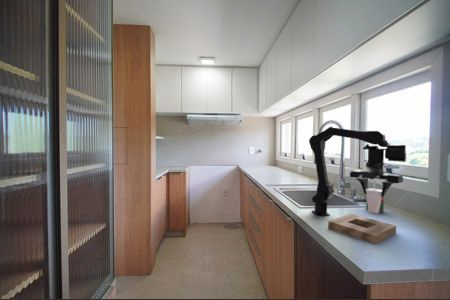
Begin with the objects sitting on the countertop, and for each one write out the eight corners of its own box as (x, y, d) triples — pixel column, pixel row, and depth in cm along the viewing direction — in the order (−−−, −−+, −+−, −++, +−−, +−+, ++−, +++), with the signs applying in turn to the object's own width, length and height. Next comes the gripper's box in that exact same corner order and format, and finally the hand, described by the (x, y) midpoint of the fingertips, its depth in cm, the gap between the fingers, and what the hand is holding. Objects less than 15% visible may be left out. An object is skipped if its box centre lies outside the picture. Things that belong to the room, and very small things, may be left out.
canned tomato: (373, 212, 117) (373, 191, 117) (362, 208, 125) (363, 188, 125) (387, 212, 118) (388, 191, 117) (376, 207, 126) (376, 188, 125)
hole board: (328, 228, 96) (328, 221, 96) (350, 219, 106) (350, 213, 106) (375, 244, 81) (376, 235, 81) (395, 232, 91) (396, 225, 91)
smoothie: (381, 211, 101) (382, 179, 100) (383, 215, 95) (384, 181, 94) (364, 208, 104) (365, 178, 103) (365, 212, 98) (366, 180, 98)
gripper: (344, 159, 101) (343, 194, 102) (394, 163, 86) (392, 203, 87) (356, 158, 108) (354, 191, 108) (404, 161, 93) (402, 199, 93)
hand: (374, 196), depth 99 cm, fingers closed on smoothie, 6 cm apart
